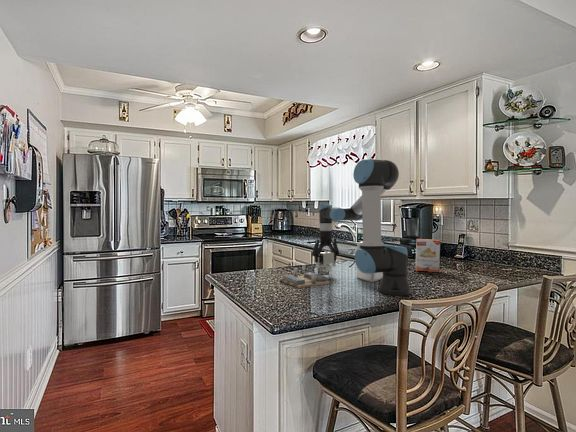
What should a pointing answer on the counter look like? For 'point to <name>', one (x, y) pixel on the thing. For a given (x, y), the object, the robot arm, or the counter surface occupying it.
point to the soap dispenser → (368, 276)
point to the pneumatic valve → (327, 260)
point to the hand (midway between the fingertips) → (325, 267)
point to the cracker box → (427, 255)
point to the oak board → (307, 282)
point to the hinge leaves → (312, 276)
